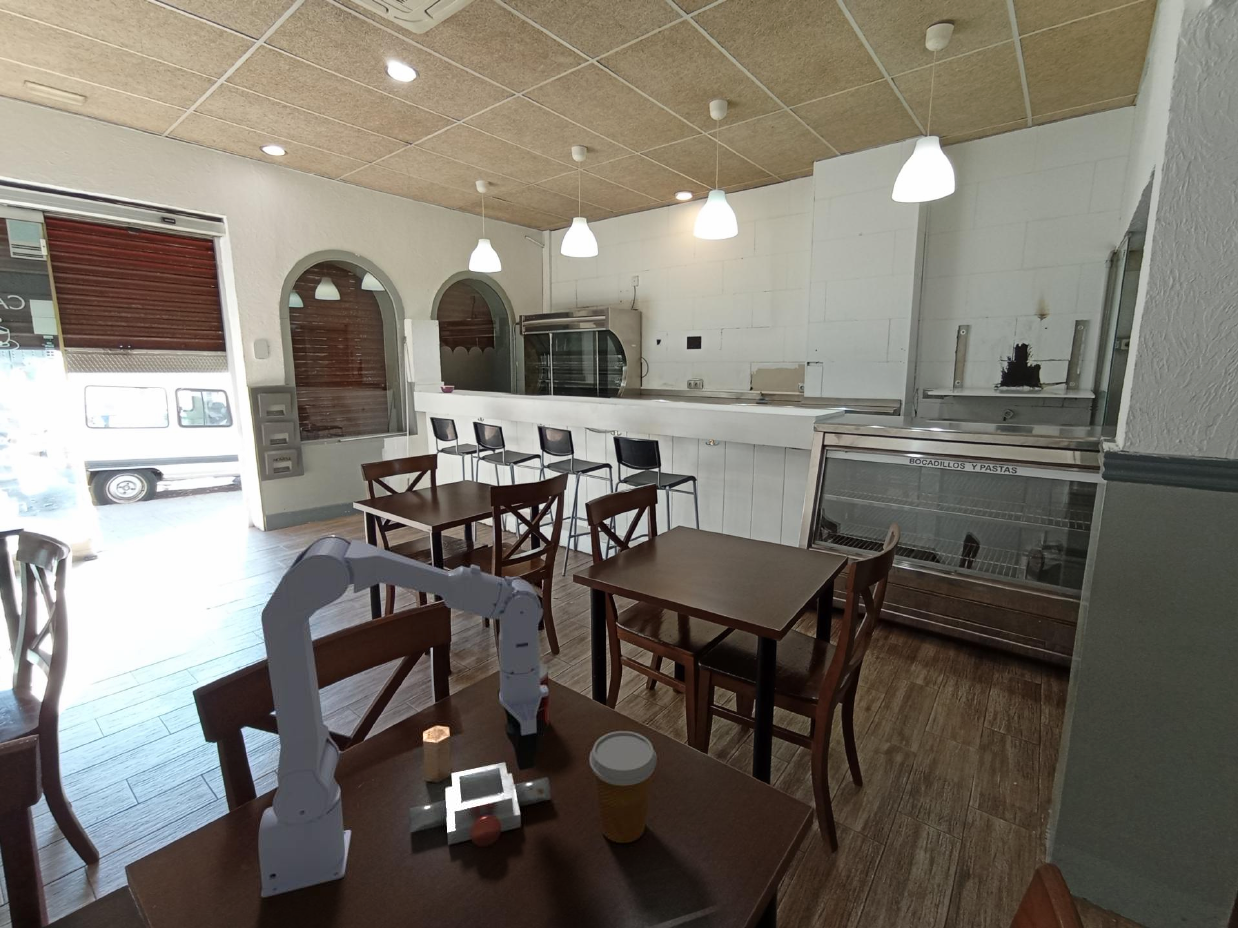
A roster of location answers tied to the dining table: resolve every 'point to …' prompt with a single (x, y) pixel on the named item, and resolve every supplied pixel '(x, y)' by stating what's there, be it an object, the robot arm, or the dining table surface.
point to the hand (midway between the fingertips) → (522, 750)
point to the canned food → (544, 703)
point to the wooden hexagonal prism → (437, 754)
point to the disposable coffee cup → (623, 783)
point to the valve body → (480, 805)
